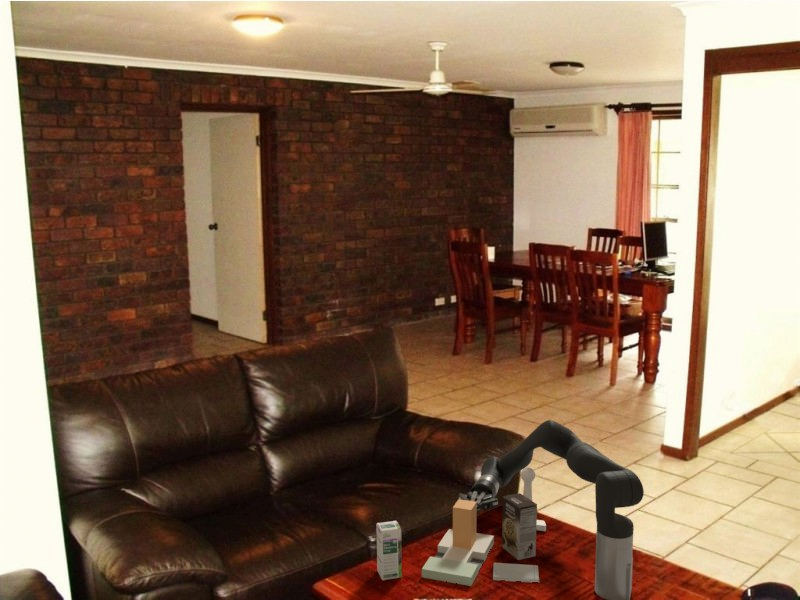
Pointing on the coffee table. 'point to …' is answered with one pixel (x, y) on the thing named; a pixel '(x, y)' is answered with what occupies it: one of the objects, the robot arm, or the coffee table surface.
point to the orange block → (464, 523)
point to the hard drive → (515, 572)
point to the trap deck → (458, 560)
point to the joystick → (528, 477)
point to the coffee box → (519, 526)
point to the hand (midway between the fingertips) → (470, 511)
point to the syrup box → (389, 550)
